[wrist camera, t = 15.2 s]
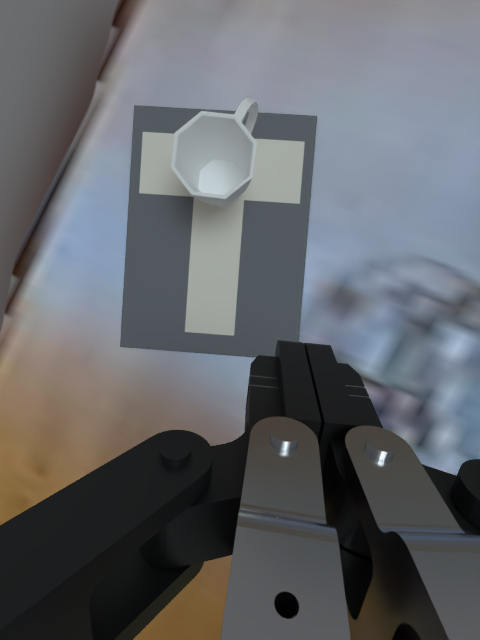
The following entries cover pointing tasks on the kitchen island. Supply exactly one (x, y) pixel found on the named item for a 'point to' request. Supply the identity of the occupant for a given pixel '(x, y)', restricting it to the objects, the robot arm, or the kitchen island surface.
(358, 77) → the kitchen island surface
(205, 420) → the kitchen island surface
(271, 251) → the t mat
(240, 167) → the cup
